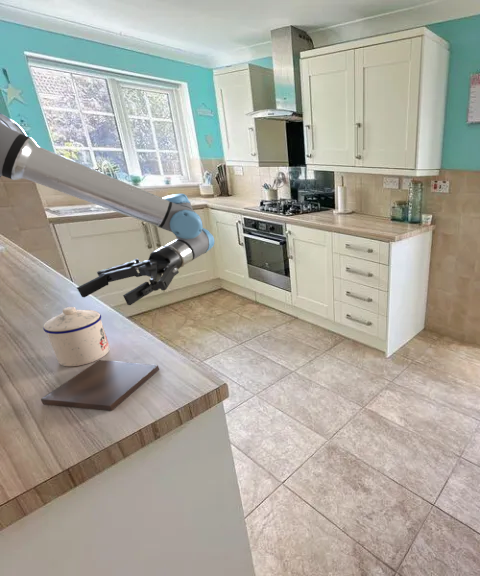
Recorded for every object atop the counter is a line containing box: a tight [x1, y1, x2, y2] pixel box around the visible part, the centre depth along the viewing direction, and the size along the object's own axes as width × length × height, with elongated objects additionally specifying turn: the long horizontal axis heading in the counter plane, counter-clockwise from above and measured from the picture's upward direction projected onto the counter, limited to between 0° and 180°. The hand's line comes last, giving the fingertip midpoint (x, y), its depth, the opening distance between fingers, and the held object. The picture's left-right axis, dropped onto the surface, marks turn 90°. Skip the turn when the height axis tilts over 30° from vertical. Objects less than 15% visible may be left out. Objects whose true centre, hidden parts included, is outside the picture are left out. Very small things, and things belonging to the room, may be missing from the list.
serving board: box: [40, 359, 160, 412], centre depth 64 cm, size 13×12×1 cm
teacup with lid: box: [43, 306, 111, 367], centre depth 71 cm, size 12×9×12 cm
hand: (103, 296), depth 78 cm, fingers open, 13 cm apart
